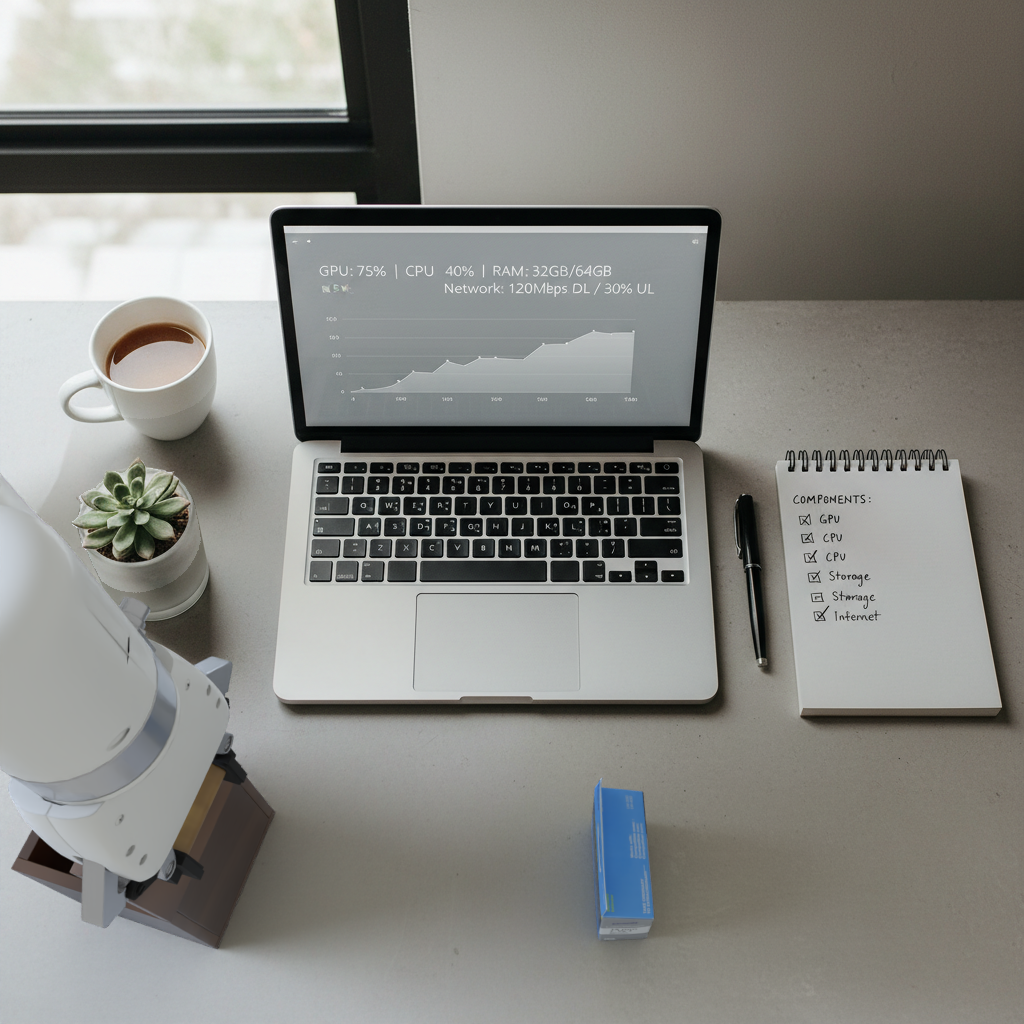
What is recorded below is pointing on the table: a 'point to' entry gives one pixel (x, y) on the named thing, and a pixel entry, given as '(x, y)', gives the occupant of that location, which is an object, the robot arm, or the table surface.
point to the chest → (203, 899)
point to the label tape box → (621, 864)
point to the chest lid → (185, 845)
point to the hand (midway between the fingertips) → (200, 818)
